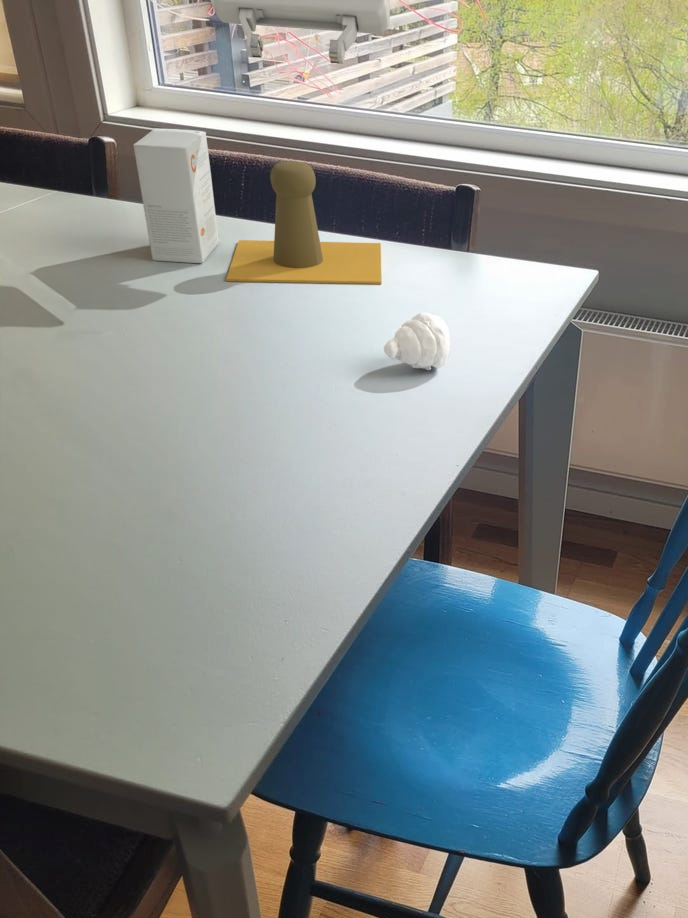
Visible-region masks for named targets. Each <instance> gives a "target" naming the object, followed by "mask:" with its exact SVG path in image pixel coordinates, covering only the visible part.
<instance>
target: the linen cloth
mask: <svg viewBox="0 0 688 918" xmlns="http://www.w3.org/2000/svg"><path fill="white" fill-rule="evenodd" d="M320 245H321V251H322V256H323V261H322V263H321V264H319V265H316V266H313V267H307V268H289V267H284V266H280V265H278V264H276V263H275V262H274V259H273V257H274V240H255V239H254V240H253V239H251V240H249V239H248V240H246V239H239V240H238V241H237V244H236V248H235V250H234V254H233V257H232V260H231V263H230V266H229V268H228V272H227V275H226V280H225V281H226V282H240V283H241V282H242V283H247V282H248V283H294V284H295V283H299V284H347V285H348V284H351V285H352V284H353V285H354V284H355V285H382V244H381V242H348V241H347V242H344V241H320Z"/></svg>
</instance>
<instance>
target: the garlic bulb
mask: <svg viewBox="0 0 688 918" xmlns="http://www.w3.org/2000/svg"><path fill="white" fill-rule="evenodd" d="M383 351H384V353H385V355H386V356H387V357H388V358H389V359H390V360H399V361H401V363H405V364H406V365H410V366H411V368H413V369H423V370H427V371H431V370H432V367H433V368H435V369H437V370H438V369H441V368H442V367H444V366H445V364H446V363H447V360H448V358H449V356H450V353H451V336H450V331H449V328H448V326H447V324H446V323H445V320H444V319H443V318H442V317H441V316H440V315H434V314H432V313H429V312H419V313H418V314H416V315H414V316H413V317H412V318H411V319H409V320H407V321H406V322H404V323H403V324H402V325H401V326H400V327H399V328H398V329H397V330H396V332H395V333H394V337H392V338H391V339H390V340H388V341H387V342H386V343H385V345H383Z"/></svg>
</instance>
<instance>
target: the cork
mask: <svg viewBox="0 0 688 918" xmlns="http://www.w3.org/2000/svg"><path fill="white" fill-rule="evenodd" d="M269 179H270V184H271V187H272V190H273V191H274V192H275V195H276V197H275V217H274V218H275V219H274V238H273V241H274V257H273V259H274V262H275V263H276V264H278V265H280V266H284V267H289V268H307V267H313V266H316V265H319V264H321V263H322V261H323V256H322V251H321V245H320V242H321V241H320V235H319V228H318V223H317V217H316V212H315V205H314V201H313V200H314V199H313V195H312V194H313V192H314V190H315V189H316V182H317V180H316V175H315V171H314V169H313V168H312V166H311V165H309V164H308V163H306V162H302V161H297V160H288V161H281V162H278V163H276V164H275V165H273V166H272V168H271V170H270V176H269Z"/></svg>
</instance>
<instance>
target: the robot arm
mask: <svg viewBox="0 0 688 918" xmlns="http://www.w3.org/2000/svg"><path fill="white" fill-rule="evenodd" d="M390 2H391V1H390V0H210V4H211V6H212V8H213V11H214V13H215V15H216V16H217V17H218V19H219V20H220V21H221V22H222V23H224V24H232V25H233V24H234V25H235V24H236V25H241V28H242V31H243V33H244V35H245V37H246V39H245V51H246V54H247V56H248V58H260V59H262V58H263V51H264V43H263V41H262V37H261V34H258V33H255V32H256V31H257V26H263V27H275V28H276V27H277V28H290V29H304V30H305V29H306V30H319V31H330V32H331V31H333V32H341V33H340V35H339V36H338V38H337V39H329V48H328V57H329V61H330V64H341V65H344V64H345V57H346V52H347V51H348V50H349V48H351V47H352V45H353V44H354V43H355V42H356V41H357V37H358V34H360V33H361V34H374V35H381V34H383V33H385V31H387V30H388V28H389V27H390V21H391V19H390V18H391V3H390Z"/></svg>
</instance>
